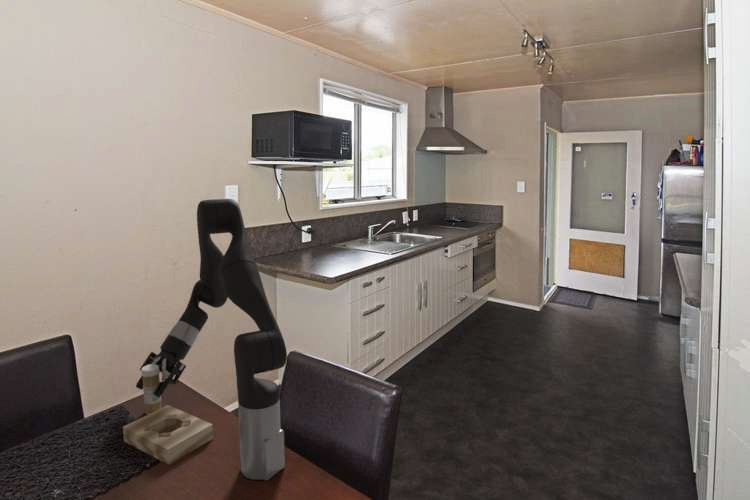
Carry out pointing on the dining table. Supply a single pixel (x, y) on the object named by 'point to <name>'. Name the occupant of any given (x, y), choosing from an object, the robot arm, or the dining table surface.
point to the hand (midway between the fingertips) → (147, 392)
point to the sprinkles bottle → (151, 388)
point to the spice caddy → (168, 434)
